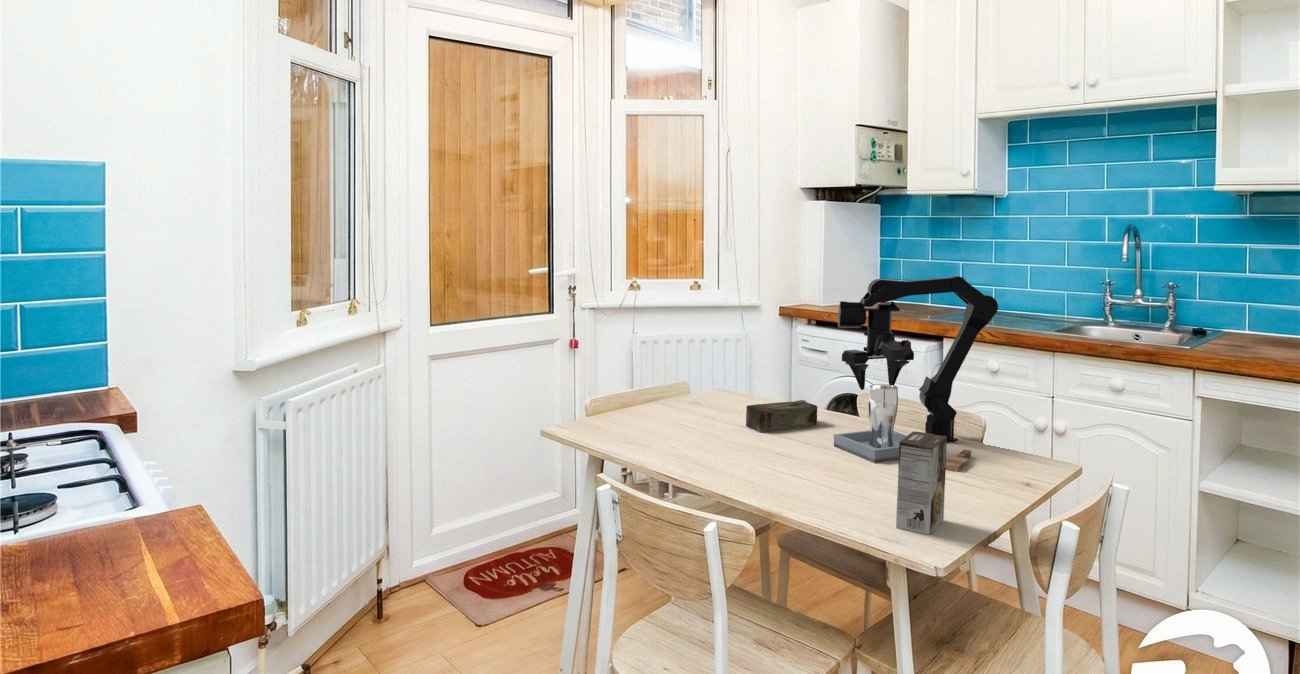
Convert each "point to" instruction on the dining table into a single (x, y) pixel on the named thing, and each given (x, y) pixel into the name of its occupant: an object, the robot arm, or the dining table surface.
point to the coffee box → (921, 482)
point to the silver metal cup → (882, 414)
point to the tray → (860, 447)
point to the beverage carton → (781, 415)
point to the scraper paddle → (958, 461)
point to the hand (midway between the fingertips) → (876, 388)
